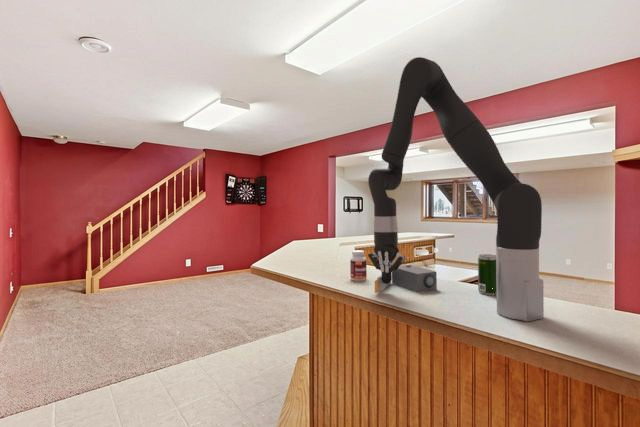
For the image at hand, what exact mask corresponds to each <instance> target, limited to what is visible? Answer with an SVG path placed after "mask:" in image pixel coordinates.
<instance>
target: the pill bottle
mask: <svg viewBox="0 0 640 427" xmlns="http://www.w3.org/2000/svg"><path fill="white" fill-rule="evenodd" d="M351 254H352V256H351V257H350V265H349V266H350V270H349V271H350V273H349V274H350V280H352V281H355V282H362V281H363V282H364V281H366V280H367V257H365V250H361V249H360V250H359V249H358V250H357V249H356V250H352V251H351Z"/></svg>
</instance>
